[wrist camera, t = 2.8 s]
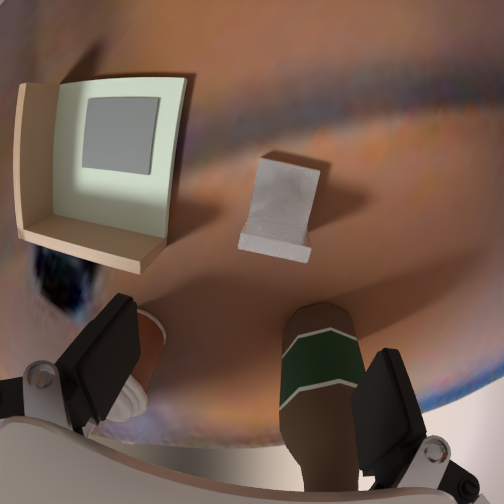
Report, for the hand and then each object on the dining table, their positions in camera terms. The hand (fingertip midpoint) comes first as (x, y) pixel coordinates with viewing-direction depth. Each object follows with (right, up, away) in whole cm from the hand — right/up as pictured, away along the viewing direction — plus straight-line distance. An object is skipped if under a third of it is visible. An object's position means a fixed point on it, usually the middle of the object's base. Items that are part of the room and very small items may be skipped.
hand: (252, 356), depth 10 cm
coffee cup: (-13, -6, +23) cm, 27 cm away
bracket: (+3, +9, +14) cm, 17 cm away
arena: (-15, +13, +14) cm, 24 cm away
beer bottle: (+7, -4, +20) cm, 21 cm away
